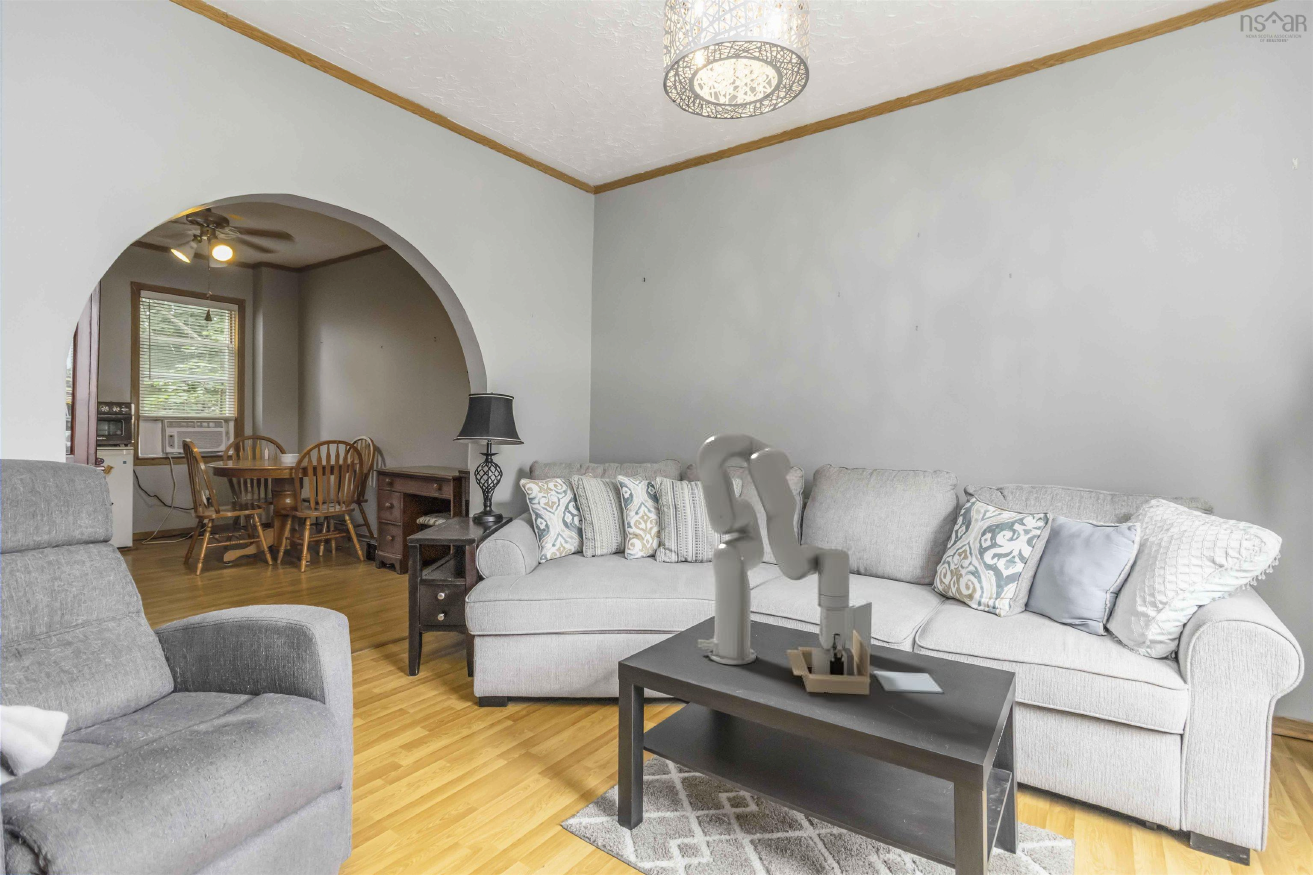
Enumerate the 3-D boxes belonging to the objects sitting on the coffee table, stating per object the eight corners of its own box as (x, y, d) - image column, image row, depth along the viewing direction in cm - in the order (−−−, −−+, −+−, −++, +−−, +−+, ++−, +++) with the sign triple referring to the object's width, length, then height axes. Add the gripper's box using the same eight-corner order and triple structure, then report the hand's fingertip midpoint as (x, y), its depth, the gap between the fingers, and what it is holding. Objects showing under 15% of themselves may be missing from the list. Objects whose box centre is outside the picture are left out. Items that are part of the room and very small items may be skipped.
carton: (795, 695, 152) (795, 652, 152) (785, 662, 173) (786, 624, 173) (871, 698, 151) (872, 655, 151) (852, 665, 172) (852, 627, 171)
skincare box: (853, 649, 184) (854, 596, 184) (872, 655, 179) (873, 600, 179) (835, 655, 179) (835, 601, 178) (854, 662, 174) (855, 606, 174)
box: (814, 683, 160) (815, 653, 159) (811, 674, 165) (812, 646, 165) (853, 684, 159) (853, 655, 159) (849, 676, 164) (849, 647, 164)
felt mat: (885, 690, 155) (885, 688, 155) (874, 673, 166) (874, 671, 166) (942, 693, 154) (942, 691, 154) (927, 675, 165) (927, 673, 165)
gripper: (812, 591, 170) (812, 656, 171) (823, 609, 153) (823, 682, 153) (842, 591, 170) (841, 657, 170) (856, 610, 152) (856, 683, 153)
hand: (833, 669), depth 162 cm, fingers open, 9 cm apart
